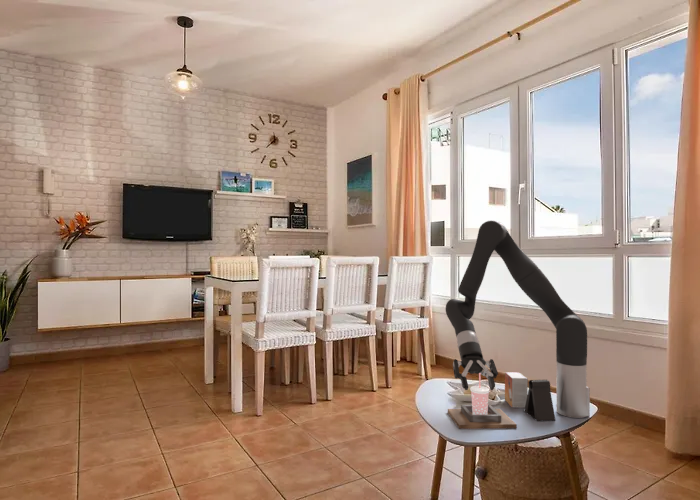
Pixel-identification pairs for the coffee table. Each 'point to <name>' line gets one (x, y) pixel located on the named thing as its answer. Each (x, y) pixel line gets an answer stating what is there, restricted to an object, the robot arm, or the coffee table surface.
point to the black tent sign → (540, 401)
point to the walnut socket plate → (480, 418)
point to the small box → (516, 389)
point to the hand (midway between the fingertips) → (479, 389)
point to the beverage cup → (479, 398)
